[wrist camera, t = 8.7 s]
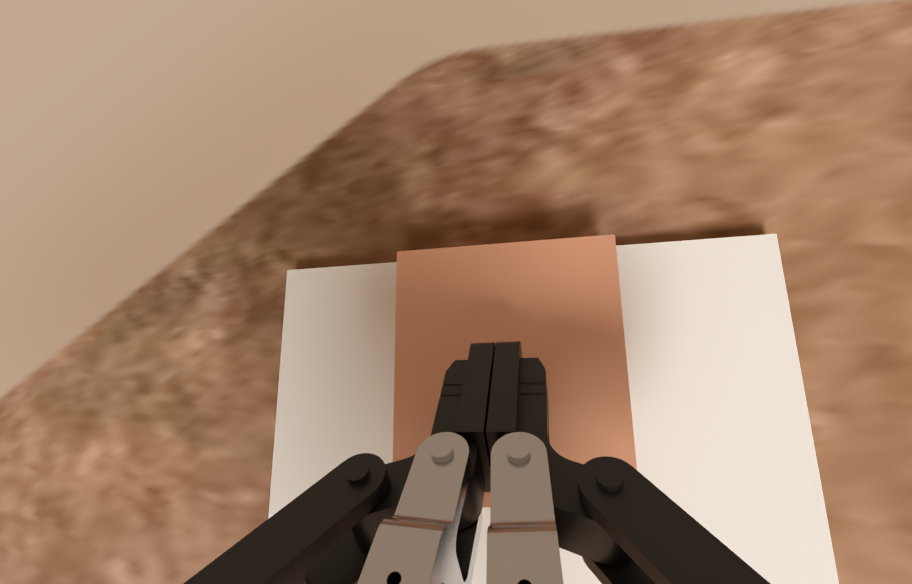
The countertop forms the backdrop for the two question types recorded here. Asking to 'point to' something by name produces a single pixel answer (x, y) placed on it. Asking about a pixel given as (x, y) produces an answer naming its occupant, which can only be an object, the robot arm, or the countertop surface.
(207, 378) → the countertop surface
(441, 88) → the countertop surface
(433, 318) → the block
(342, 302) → the mat
